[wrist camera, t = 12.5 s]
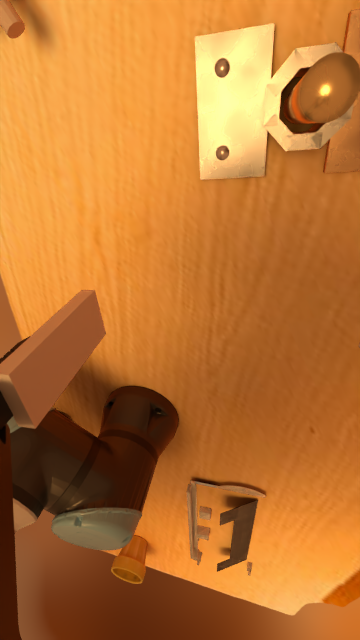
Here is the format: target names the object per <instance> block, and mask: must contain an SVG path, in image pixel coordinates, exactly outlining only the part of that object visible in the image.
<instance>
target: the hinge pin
mask: <svg viewBox="0 0 360 640" xmlns="http://www.w3.org/2000/svg"><path fill="white" fill-rule="evenodd" d="M359 91H360V67H359V64H358V63H357V61H356V60H355V59H354V58H353V57H352V56H351V55H349V54H346V53H342V52H335V53H331V54H328V55H326V56H324V57H322V58H321V59H319V60H318V61H317V62H316V63H314V65H313V66H312V67H311V68H310V69H309V70H308V71H307V73H306V74H305V75H304V76H303V77H302V79H301V80H300V81H299V82H298V83H297V85H296V86H295V87H294V88H293V89H292V91H291V92H290V93H289V94H288V96H287V97H286V99H285V102H284V106H283V112H284V116H285V118H286V119H287V120H288V121H289V122H290V123H293V124H308V123H327V122H331V121H334V120H336V119H338V118H339V117H341V116H342V115H344V114H345V113H346V112H347V111H348V110H349V109H350V107H351V106H352V105H353V103H354V102H355V100H356V98H357V96H358V93H359Z"/></svg>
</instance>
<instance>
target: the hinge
mask: <svg viewBox="0 0 360 640" xmlns="http://www.w3.org/2000/svg"><path fill="white" fill-rule="evenodd" d="M274 24H275V23H273V24H267V25H261V26H255V27H249V28H243V29H238V30H232V31H226V32H220V33H214V34H208V35H202V36H196V37H195V54H196V79H197V105H198V130H199V156H200V180H205V179H224V178H242V177H260V176H264V175H265V160H266V145H267V131H268V132H269V133H270V134H271V135H272V136H273V137H274V139H275V140H276V141H277V142H278V143H279V144H280V145H281V146H282V148H283V149H284V150H285V151H293V150H307V149H321V147H322V146H323V145H324V144H325V143H326V142H327V141H328V144H327V151H326V157H325V163H324V169H323V172H324V173H334V172H352V171H360V91H359V93H358V96H357V98H356V100H355V102H354V103H353V105H352V106H351V107H350V109H349V110H348V111H347V112H346V113H345V114H344V115H342V116H341V117H339V118H338V119H336V120H334V121H331V122H327V123H315V124H314V125H313V126H312V127H311V128H310V129H309V130H308V131H303V132H292V133H291V131H290V130H289V129H288V128H287V127H286V126H285V124H284V123H283V122H282V121H281V120H280V119H279V112H280V99H281V92H282V91H283V90H284V89H285V88H286V86H287V85H288V84H289V83H290V82H291V80H292V79H293V78H296V77H303V76H304V75H305V74H306V73H307V71H308V70H309V69H310V68H311V67H312V66H313V65H314V63H316V62H317V61H318V60H319V59H321V58H322V57H324V56H326V55H328V54H331V53H335V52H342V53H346V54H349V55H351V56H352V57H353V58H354V59H355V60H356V61H357V63H358V64H359V67H360V9H356V10H351V11H350V13H349V14H348V20H347V27H346V33H345V39H344V45H343V51H342V50H341V49H340V47H339V46H338V45H337V43H336V42H335V43H330V44H323V45H316V46H310V47H303V48H296V49H295V50H294V51H293V52H292V54H291V55H290V56H289V57H288V59H287V60H286V61H285V62H284V64H283V65H282V66H281V67H280V69H279V70H278V71H277V72H276V74H275V75H274V76H273V77H272V79H271V69H272V54H273V39H274Z"/></svg>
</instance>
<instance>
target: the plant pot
mask: <svg viewBox="0 0 360 640" xmlns="http://www.w3.org/2000/svg"><path fill="white" fill-rule="evenodd" d="M146 550H147V542H146V540H144V539H143V538H141V537H139V536H136V535H133V538H132V540H131V541H130V542H129V543H128V544H127V545H126V546H125V547H123V548H122V550H121V552H120V553H119V555H118V556H116V558H115V560H114V562H113V565H112V568H111V571H112V573H113V574H114V575H116V576H117V577H119V578H120V579H122V580H125V581H127V582H131V583H136V584H138V583H142V581H143V578H144V575H145V571H146V568H145V558H146Z"/></svg>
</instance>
